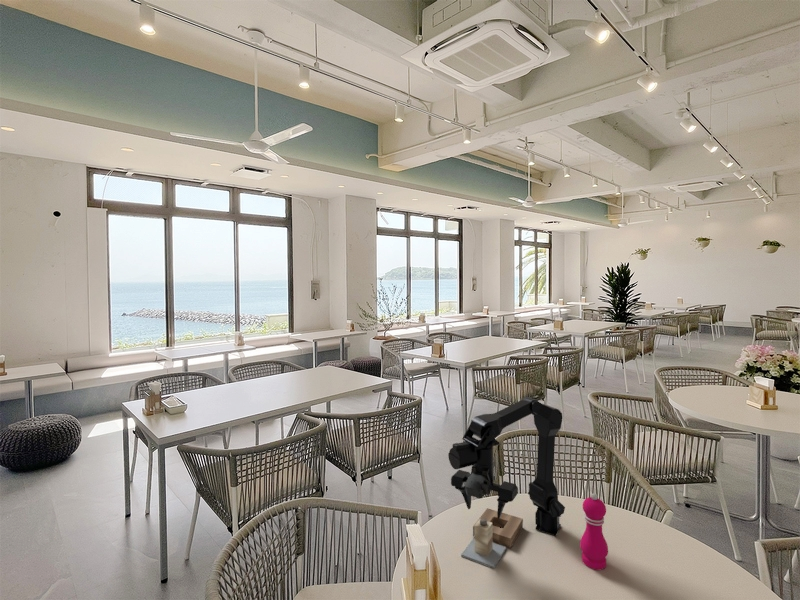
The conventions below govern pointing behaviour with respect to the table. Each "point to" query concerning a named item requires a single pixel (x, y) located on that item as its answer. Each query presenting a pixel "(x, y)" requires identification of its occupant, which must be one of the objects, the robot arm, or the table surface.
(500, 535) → the socket block
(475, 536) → the plug
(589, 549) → the pepper mill
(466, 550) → the mat
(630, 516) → the table surface
